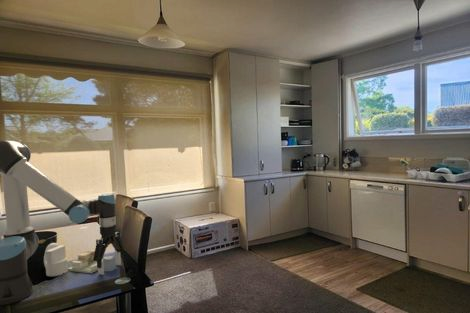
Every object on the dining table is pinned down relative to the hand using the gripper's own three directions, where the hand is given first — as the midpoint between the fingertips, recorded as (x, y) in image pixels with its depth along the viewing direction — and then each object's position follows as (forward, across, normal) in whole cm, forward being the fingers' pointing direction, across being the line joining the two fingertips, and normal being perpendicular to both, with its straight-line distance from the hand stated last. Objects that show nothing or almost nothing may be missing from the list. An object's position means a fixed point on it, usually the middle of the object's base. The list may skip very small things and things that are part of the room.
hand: (109, 269), depth 148 cm
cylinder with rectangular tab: (0, -9, +24) cm, 26 cm away
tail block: (0, 0, 0) cm, 0 cm away
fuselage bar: (-1, +4, +17) cm, 17 cm away
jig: (0, +3, +13) cm, 13 cm away
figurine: (0, -3, +34) cm, 34 cm away
